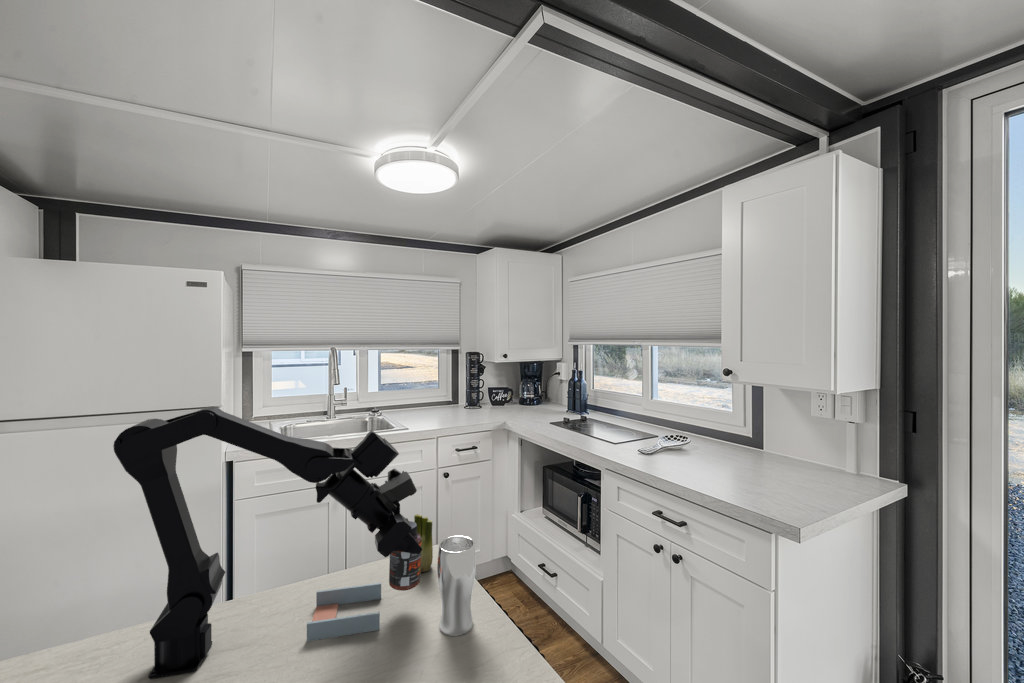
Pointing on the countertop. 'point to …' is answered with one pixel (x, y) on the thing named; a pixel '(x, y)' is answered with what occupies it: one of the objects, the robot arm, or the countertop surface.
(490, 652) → the countertop surface
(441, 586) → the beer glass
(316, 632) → the channel
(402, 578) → the supplement bottle
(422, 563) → the fennel bulb
